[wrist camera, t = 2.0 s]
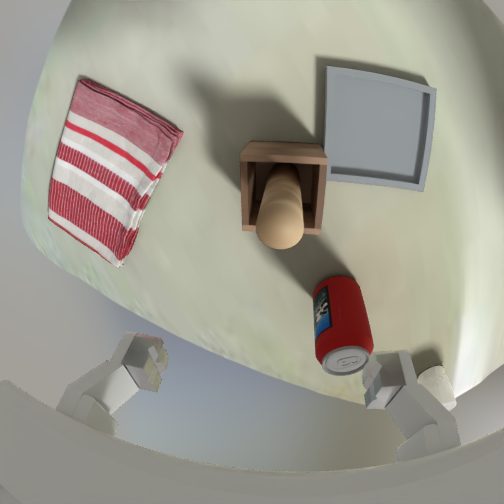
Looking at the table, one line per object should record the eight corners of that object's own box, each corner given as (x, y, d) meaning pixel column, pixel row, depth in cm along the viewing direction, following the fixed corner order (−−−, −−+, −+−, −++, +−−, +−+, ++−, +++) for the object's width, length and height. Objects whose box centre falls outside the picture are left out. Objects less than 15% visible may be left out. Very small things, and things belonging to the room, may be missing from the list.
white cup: (441, 377, 47) (450, 412, 39) (412, 386, 49) (419, 422, 41) (449, 360, 43) (461, 397, 35) (418, 369, 45) (427, 408, 37)
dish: (430, 88, 20) (436, 88, 19) (418, 187, 27) (423, 191, 26) (325, 67, 22) (327, 65, 20) (321, 176, 28) (322, 180, 27)
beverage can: (306, 279, 36) (308, 353, 26) (355, 266, 34) (373, 338, 24) (319, 313, 39) (322, 383, 29) (363, 302, 37) (377, 371, 27)
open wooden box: (319, 143, 26) (327, 158, 21) (314, 206, 30) (320, 234, 25) (250, 141, 27) (239, 154, 22) (251, 203, 31) (242, 230, 25)
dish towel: (189, 130, 28) (181, 134, 25) (126, 265, 40) (118, 275, 37) (86, 76, 24) (73, 78, 22) (51, 212, 36) (41, 220, 34)
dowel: (299, 162, 27) (305, 208, 17) (298, 190, 29) (301, 250, 19) (269, 160, 27) (255, 205, 17) (268, 189, 29) (255, 247, 19)
